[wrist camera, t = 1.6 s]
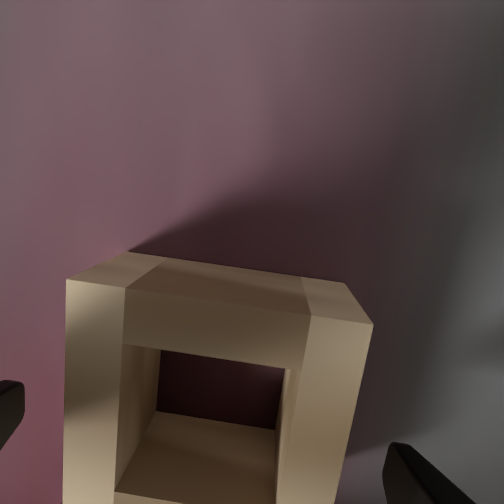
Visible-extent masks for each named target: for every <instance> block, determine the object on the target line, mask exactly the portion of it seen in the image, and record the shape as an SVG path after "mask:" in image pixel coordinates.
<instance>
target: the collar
mask: <svg viewBox="0 0 504 504" xmlns="http://www.w3.org/2000/svg"><path fill="white" fill-rule="evenodd" d="M373 326H374V324H373V323H372V322H371V320H370V319H369V317H368V316H367V314H366V313H365V312H364V310H363V309H362V307H361V306H360V304H359V303H358V302H357V300H356V299H355V297H354V296H353V295H352V293H351V292H350V290H349V289H348V287H347V286H346V285H345V283H341V282H334V281H328V280H321V279H314V278H307V277H300V276H293V275H286V274H279V273H272V272H265V271H258V270H251V269H244V268H237V267H230V266H223V265H216V264H209V263H203V262H196V261H189V260H182V259H175V258H168V257H161V256H154V255H147V254H140V253H133V252H124V253H122V254H120V255H118V256H115V257H113V258H111V259H109V260H107V261H105V262H102V263H100V264H98V265H96V266H94V267H92V268H89V269H87V270H85V271H83V272H81V273H79V274H76V275H74V276H72V277H70V278H68V279H66V327H65V388H64V449H63V504H334V502H335V497H336V493H337V488H338V484H339V479H340V475H341V470H342V466H343V461H344V457H345V452H346V448H347V443H348V439H349V434H350V430H351V425H352V421H353V416H354V411H355V407H356V402H357V398H358V393H359V389H360V384H361V380H362V375H363V371H364V366H365V362H366V357H367V353H368V348H369V344H370V339H371V335H372V330H373ZM161 350H168V351H174V352H181V353H187V354H194V355H200V356H207V357H213V358H220V359H226V360H233V361H239V362H245V363H252V364H258V365H265V366H271V367H278V368H284V369H285V372H284V378H283V384H282V390H281V396H280V402H279V408H278V414H277V420H276V426H275V430H270V429H264V428H258V427H252V426H246V425H239V424H233V423H227V422H221V421H215V420H208V419H202V418H196V417H190V416H184V415H177V414H171V413H165V412H159V411H156V404H157V392H158V379H159V367H160V355H161Z"/></svg>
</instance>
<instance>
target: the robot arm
mask: <svg viewBox="0 0 504 504" xmlns="http://www.w3.org/2000/svg"><path fill="white" fill-rule="evenodd" d="M24 412H25V388H24V385H23V383H21V382H18V381H12V380H3V381H0V450H1V449H2V447H3V446H4V445H5V443H6V442H7V440H8V439H9V438H10V436H11V435H12V434H13V432H14V431H15V429H16V428H17V427H18V425H19V424H20V422H21V421H22V419H23V416H24ZM382 478H383V485H384V490H385V495H386V500H387V504H476V503H475V502H474V501H473V500H471V499H470V498H469V497H468V496H467V495H466V494H465V493H463V492H462V491H461V490H460V489H459V488H458V487H457V486H456V485H454V484H453V483H452V482H451V481H450V480H449V479H448V478H447V477H445V476H444V475H443V474H442V473H441V472H440V471H439V470H438V469H436V468H435V467H434V466H433V465H432V464H431V463H430V462H429V461H427V460H426V459H425V458H424V457H423V456H422V455H421V454H419V453H418V452H417V451H416V450H415V449H414V448H413V447H411V446H410V445H408V444H404V443H398V442H392V443H391V444H390V445H389V448H388V451H387V455H386V459H385V463H384V467H383V473H382Z"/></svg>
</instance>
